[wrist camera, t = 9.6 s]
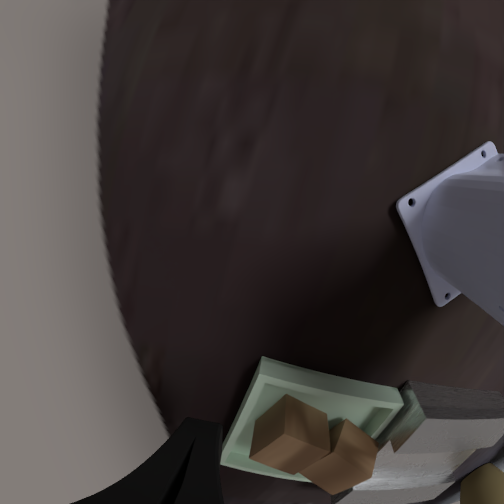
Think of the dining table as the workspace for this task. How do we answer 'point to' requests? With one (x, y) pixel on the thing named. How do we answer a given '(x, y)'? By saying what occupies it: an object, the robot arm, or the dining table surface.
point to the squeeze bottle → (483, 486)
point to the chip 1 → (290, 436)
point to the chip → (344, 459)
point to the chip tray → (314, 394)
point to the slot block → (428, 443)
